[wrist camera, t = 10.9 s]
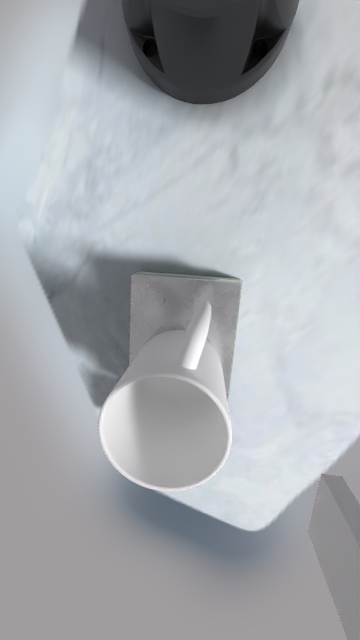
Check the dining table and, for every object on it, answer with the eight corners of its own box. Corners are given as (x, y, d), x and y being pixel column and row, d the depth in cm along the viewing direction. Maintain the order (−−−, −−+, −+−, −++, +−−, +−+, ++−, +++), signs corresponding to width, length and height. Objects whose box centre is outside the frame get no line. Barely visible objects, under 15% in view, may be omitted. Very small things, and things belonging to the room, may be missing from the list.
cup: (127, 390, 27) (84, 466, 17) (163, 278, 24) (134, 291, 14) (204, 417, 27) (204, 509, 17) (249, 307, 24) (279, 341, 14)
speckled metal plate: (139, 273, 27) (131, 274, 24) (237, 280, 27) (241, 283, 24) (135, 396, 31) (127, 411, 28) (222, 406, 30) (224, 422, 27)
